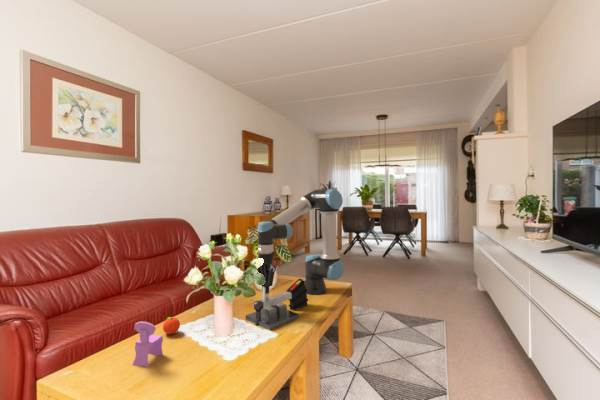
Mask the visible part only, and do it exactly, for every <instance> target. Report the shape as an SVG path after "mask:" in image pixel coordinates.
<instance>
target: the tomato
mask: <svg viewBox="0 0 600 400" xmlns="http://www.w3.org/2000/svg"><path fill="white" fill-rule="evenodd" d="M180 327H181V323H180V320H179V319H178V318H177V317H175V316H173V317H171V316H168V317H166V318H165V319H164V321H163V324H162V330H163V332H164V333H165V334H167V335H174V334H176V333H177V332H178V330H179V329H180Z"/></svg>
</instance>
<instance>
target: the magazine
mask: <svg viewBox="0 0 600 400" xmlns="http://www.w3.org/2000/svg"><path fill="white" fill-rule="evenodd" d="M304 283H305V280H304V279H302V278H298V279H297V280H296V281H295V282H294V283H293V284H292V285H291V286H290V287H289V288H288V289H286V291H287V292H290V293H292V299H289V300H288V301H289V304H288V307H289V310H290V311H297V310H299V309H302V308H304V307H307V306H308V302H309V299H308V294H307V293H306V291H307V289H306V288H305V284H304Z"/></svg>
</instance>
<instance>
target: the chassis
mask: <svg viewBox="0 0 600 400" xmlns="http://www.w3.org/2000/svg"><path fill="white" fill-rule="evenodd" d="M299 318H300V314H299V313H298V312H295V311H293V310H290V309H288V305H287V304H286V303H283V302H281V303H278V304H275V305H272V306H270V307H267V308H264V309H263V308H262V309H261V310H255V311H254V312H251V313H248V314H245V320H246V321H248V322H250V323H253V324H255V326H260V327H261V328H264V329H266V330H268V331H272V330H275V329H277V328H279V327H281V326H284V325H286V324H289V323H291V322H292V321H296V320H297V319H299Z"/></svg>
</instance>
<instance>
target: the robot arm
mask: <svg viewBox="0 0 600 400" xmlns="http://www.w3.org/2000/svg"><path fill="white" fill-rule="evenodd" d="M343 199H344V198H343V195H342V194H341V192H340V191H339V190H338V189H335V188H327V189H325V188H322V189H314V190H311V191H310V192H308V193H306V194H305V195H303V196H302V197H301V198H299V201H297V202H295V203H294V204H293V205H290V207H288V208H287V209H284V211H282V212H280V213H279V214H277V215H276V216H274V217H273V218H271V219H270V220H268V221H260V222H258V226H257V238H258V239H257V243H258V244H257V247H258V248H257V249H258V250H257V251H258V254H257V259H258V258H263V259H264V263H263V265H262V266H260V267H259V268H258V269H257V268H256V271H258V272H259V273H261V274H263V275H264V277H265V281H266V282H265V284H264V285H262V286H261V292H262V299H264V298H267V297H270V296H269V294H270V287H271V286H273V282H274V278H275V272H276V270H277V269H276V267H274V266H273V260H274V240H283V239H284V240H286V239H290V238H292V237H293V234H294V229H293V227H292V225H290V223H292V221H294V220H295V219H297V218H299V217H300V216H302V215H304V213H306V212H310V211H312V210H313V209H318V210H319V211H318V212H319V214H321V225H322V228H321V230H322V235H321V236H322V237H321V238H322V254H321V253H320V254H319V253H317V254H315V253H314V254H309V255H306V257H305V263H304V264H305V265H304V268H305V278H304V281H305V283H304V284H305V288H306V289H307V291H306V293H307V295H323V294H325V293H326V292H327V286H326V282H325V279H327V280H331V281H337V280H340V278H341V277H342V276H343V275H344V271H345V264H344V263H343V262H342V261H341V257H340V255H339V254H338V240H337V239H338V238H337V237H338V235H337V234H338V233H337V229H338V226H337V214H338V213H339V212H340V210H339V209H341V207H342V205H343ZM258 272H257V273H258Z"/></svg>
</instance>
